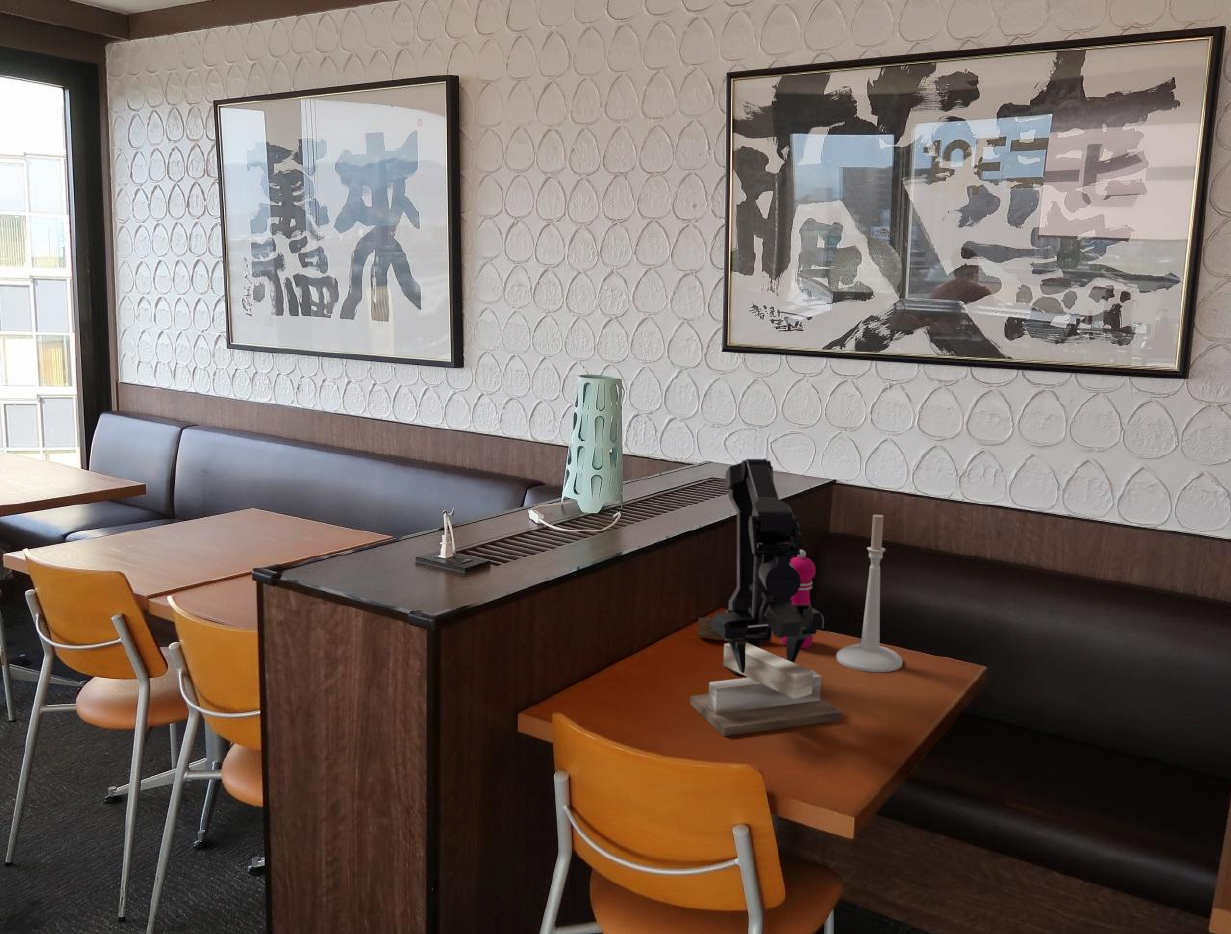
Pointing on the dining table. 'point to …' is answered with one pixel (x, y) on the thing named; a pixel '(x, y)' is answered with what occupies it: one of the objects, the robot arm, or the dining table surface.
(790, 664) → the cream beige bar
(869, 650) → the candlestick
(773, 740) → the dining table surface
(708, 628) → the wood plank
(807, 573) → the pepper mill
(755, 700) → the ridge stand
